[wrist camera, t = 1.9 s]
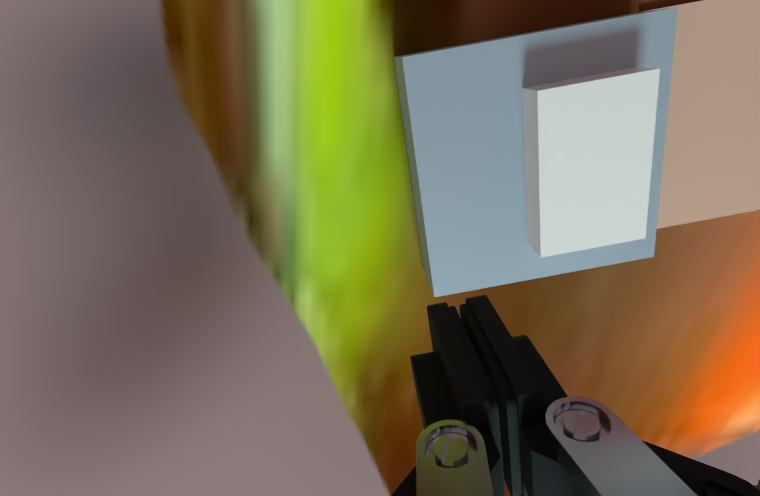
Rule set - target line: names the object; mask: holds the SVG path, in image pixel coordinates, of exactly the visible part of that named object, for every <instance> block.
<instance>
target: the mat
mask: <svg viewBox="0 0 760 496" xmlns="http://www.w3.org/2000/svg"><path fill="white" fill-rule="evenodd" d="M673 7H678V10H677V21H676V31H675V41H674V52H673V62H672V73H671V83H670V93H669V104H668V114H667V125H666V135H665V145H664V156H663V166H662V176H661V187H660V197H659V208H658V218H657V228H656V229H658V228H663V227H669V226H674V225H680V224H685V223H691V222H696V221H701V220H707V219H712V218H718V217H723V216H729V215H734V214H739V213H745V212H750V211H756V210H760V0H702V1H696V2H691V3H685V4H680V5H674V6H669V7H663V8H658V9H652V10H659V9H666V8H673ZM652 10H647V11H652ZM642 12H645V11H642Z"/></svg>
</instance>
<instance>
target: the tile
mask: <svg viewBox="0 0 760 496" xmlns="http://www.w3.org/2000/svg"><path fill="white" fill-rule="evenodd" d="M659 75H660V68H640V67H634V68H628V69H623V70H618V71H612V72H607V73H601V74H596V75H590V76H585V77H579V78H574V79H568V80H563V81H558V82H552V83H547V84H541V85H536V86H530V87H525V88H522V100H523V131H524V161H525V191H526V221H527V244H528V245H529V246H530V247H531V248H532V249H533V250H534V251H535V252H536V253H537V254H538V255H539V256H540V257H541V258H542V257H547V256H553V255H558V254H563V253H569V252H574V251H580V250H585V249H591V248H596V247H601V246H607V245H612V244H618V243H623V242H628V241H634V240H639V239H645V238H646V226H647V214H648V203H649V191H650V180H651V168H652V156H653V145H654V133H655V121H656V110H657V98H658V87H659Z"/></svg>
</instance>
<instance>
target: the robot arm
mask: <svg viewBox="0 0 760 496" xmlns="http://www.w3.org/2000/svg"><path fill="white" fill-rule="evenodd" d="M427 312H428V319H429V326H430V333H431V340H432V347H433V352H430V353H424V354H419V355H414V356H410V358H411V365H412V370H413V376H414V382H415V387H416V393H417V398H418V403H419V407H420V412H421V416H422V421H423V425H424V431H422V433H421V435H420V436H419V438H418V441H417V446H416V466H415V467H414V468H413V470H412V471H411V472H410V473H409V475H408V476H407V477H406V478H405V480H404V481H403V482H402V483H401V484H400V486H399V487H398V488H397V489H396V491H395V492H394V493H393V494H392V496H505V486H504V480H505V483H506V485H507V488H508V490H509V493H510V495H511V496H518V495H519V496H760V480H759V481H758V485H752V484H750V483H749V482H747V481H746V480H743V479H741V478H739V477H737V476H735V475H733V474H730V473H727V472H725V471H722V470H720V469H717V468H714V467H711V466H709V465H706V464H704V463H701V462H698V461H696V460H693V459H690V458H688V457H685V456H682V455H680V454H677V453H674V452H672V451H669V450H666V449H664V448H661V447H658V446H656V445H653V444H650V443H648V442H645V441H642V440H641V439H640V438H639V437H638V436H637V435H636V434H635V433H633V432H632V431H631V430H630V429H629V428H628V427H627V426H626V425H625V424H624V423H623V422H622V421H621V420H620V419H619V418H618V417H617V416H616V415H615V414H614V413H613V412H612V411H611V410H610V409H609V408H607V407H606V406H605V405H603V404H601V403H599V402H597V401H595V400H593V399H589V398H585V397H574V396H570V397H568V396H567V395H566V393H565V392H564V390H563V389H562V387H561V386H560V384H559V383H558V381H557V380H556V378H555V377H554V375H553V374H552V372H551V371H550V369H549V368H548V366H547V365H546V363H545V362H544V360H543V359H542V357H541V356H540V354H539V353H538V351H537V350H536V349H535V347H534V346H533V344H532V343H531V341H530V340H529V338H528V337H527V336H526V335H520V336H515V337H511V335H510V333H509V332H508V330H507V328H506V327H505V325H504V324H503V322H502V320H501V319H500V317H499V315H498V314H497V312H496V310H495V309H494V307H493V306H492V304H491V302H490V301H489V299H488V297H487V296H486V295H482V296H477V297H471V298H466V304H462V305H460V316H461V319H460V316H459V314H458V312H457V310H456V308H455V306H451V307H448V305H447V303H446V302H444V303H439V304H434V305H428V306H427Z"/></svg>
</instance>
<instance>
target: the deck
mask: <svg viewBox="0 0 760 496" xmlns="http://www.w3.org/2000/svg"><path fill="white" fill-rule="evenodd" d="M677 10H678V7H673V8H666V9H659V10H652V11H645V12H638V13H631V14H625V15H620V16H614V17H609V18H603V19H598V20H592V21H587V22H581V23H576V24H571V25H565V26H560V27H554V28H549V29H543V30H538V31H532V32H527V33H521V34H516V35H510V36H505V37H499V38H494V39H489V40H483V41H478V42H472V43H467V44H461V45H456V46H450V47H445V48H439V49H434V50H428V51H423V52H418V53H412V54H407V55H401V56H396V57H394V63H395V70H396V77H397V84H398V91H399V98H400V105H401V112H402V119H403V126H404V133H405V140H406V147H407V155H408V162H409V169H410V176H411V183H412V190H413V197H414V204H415V211H416V218H417V225H418V232H419V239H420V246H421V253H422V261H423V268H424V271H425V274H426V276H427V279H428V282H429V284H430V287H431V290H432V292H433V295H434V297H438V296H444V295H449V294H454V293H460V292H465V291H471V290H476V289H482V288H487V287H492V286H498V285H503V284H509V283H514V282H519V281H525V280H530V279H536V278H541V277H547V276H552V275H557V274H563V273H568V272H574V271H579V270H585V269H590V268H595V267H601V266H606V265H612V264H617V263H622V262H628V261H633V260H639V259H644V258H650V257H654V249H655V239H656V228H657V218H658V208H659V197H660V187H661V176H662V166H663V156H664V145H665V135H666V125H667V114H668V104H669V93H670V83H671V73H672V62H673V52H674V41H675V31H676V21H677ZM634 67H640V68H660V75H659V87H658V98H657V110H656V121H655V133H654V145H653V156H652V168H651V180H650V191H649V203H648V214H647V226H646V238H645V239H639V240H634V241H628V242H623V243H618V244H612V245H607V246H601V247H596V248H591V249H585V250H580V251H574V252H569V253H563V254H558V255H553V256H547V257H542V258H541V257H540V256H539V255H538V254H537V253H536V252H535V251H534V250H533V249H532V248H531V247H530V246H529V245H528V244H527V221H526V191H525V161H524V131H523V100H522V88H525V87H530V86H536V85H541V84H547V83H552V82H558V81H563V80H568V79H574V78H579V77H585V76H590V75H596V74H601V73H607V72H612V71H618V70H623V69H628V68H634Z"/></svg>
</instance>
